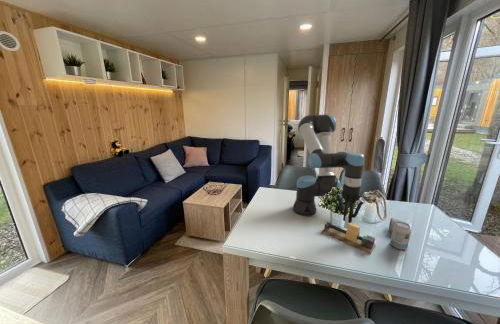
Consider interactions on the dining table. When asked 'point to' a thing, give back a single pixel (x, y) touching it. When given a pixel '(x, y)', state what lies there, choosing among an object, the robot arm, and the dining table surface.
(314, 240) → the dining table surface
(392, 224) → the ceramic mug
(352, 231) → the sleeve
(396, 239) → the beverage can
